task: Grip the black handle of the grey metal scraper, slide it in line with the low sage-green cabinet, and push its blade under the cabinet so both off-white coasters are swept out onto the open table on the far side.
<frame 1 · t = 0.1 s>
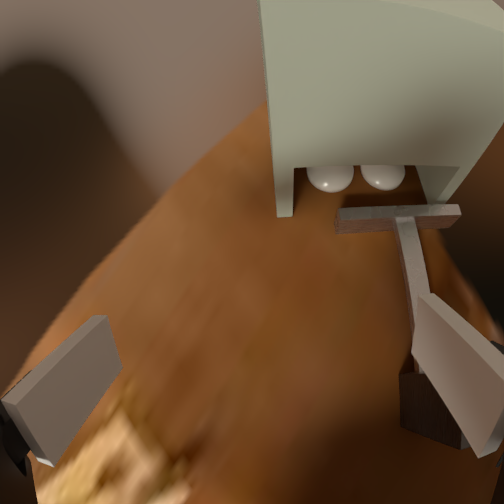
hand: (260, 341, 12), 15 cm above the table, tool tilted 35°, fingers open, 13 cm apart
coaster 2: (329, 174, 33), on the table
scraper: (419, 396, 23), on the table
cabinet: (356, 171, 32), on the table
coaster 1: (381, 172, 32), on the table
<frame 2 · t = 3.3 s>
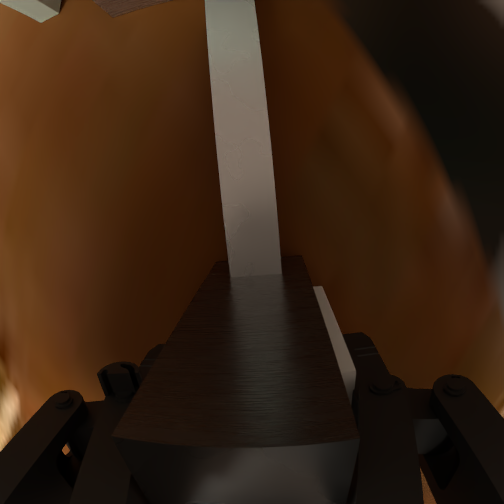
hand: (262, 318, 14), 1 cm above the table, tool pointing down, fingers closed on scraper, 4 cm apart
scraper: (263, 308, 15), on the table, touching gripper
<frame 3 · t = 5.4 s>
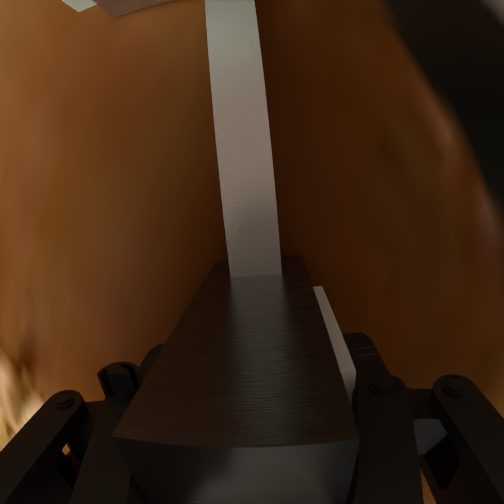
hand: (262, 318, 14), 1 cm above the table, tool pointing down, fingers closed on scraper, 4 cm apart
scraper: (263, 308, 15), on the table, touching gripper
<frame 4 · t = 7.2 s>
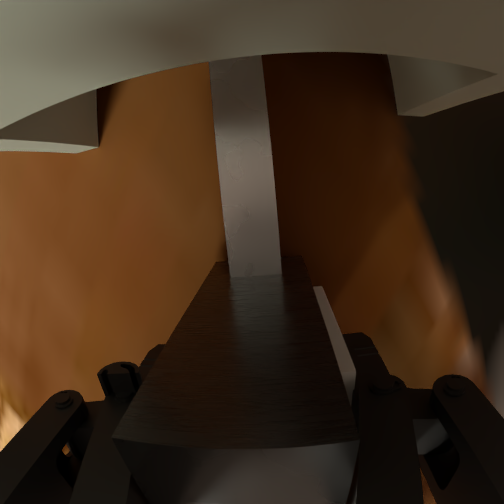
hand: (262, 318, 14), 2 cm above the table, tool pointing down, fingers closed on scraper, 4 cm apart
scraper: (263, 308, 15), on the table, touching gripper
cabinet: (233, 29, 13), on the table
when the fingers open (1 cm above the table, at t = 10.5 s): scraper stays where it is, on the table.
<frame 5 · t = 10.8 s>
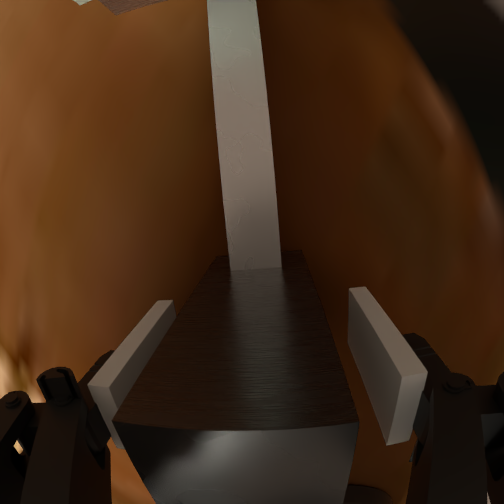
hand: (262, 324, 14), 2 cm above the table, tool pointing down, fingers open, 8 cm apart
scraper: (262, 303, 15), on the table
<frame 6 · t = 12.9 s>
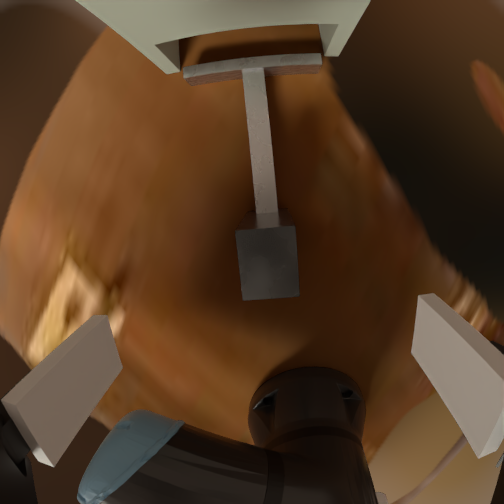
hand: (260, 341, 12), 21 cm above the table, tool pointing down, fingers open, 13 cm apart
scraper: (269, 234, 32), on the table
cabinet: (246, 21, 27), on the table
container: (365, 502, 44), on the table
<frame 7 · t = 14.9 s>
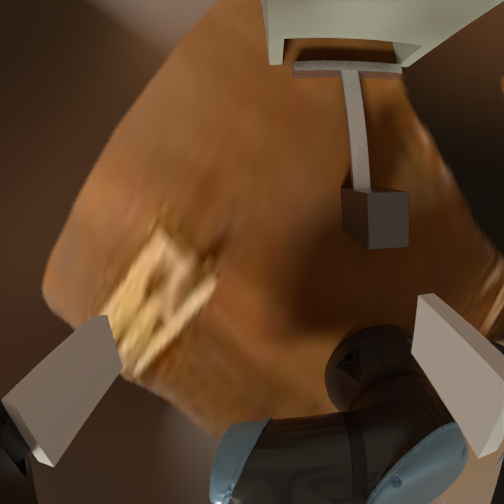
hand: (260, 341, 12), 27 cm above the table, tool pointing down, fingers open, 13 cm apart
scraper: (357, 207, 37), on the table
cabinet: (336, 29, 31), on the table
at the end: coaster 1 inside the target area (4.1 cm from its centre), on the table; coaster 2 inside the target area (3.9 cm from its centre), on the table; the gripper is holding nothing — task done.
